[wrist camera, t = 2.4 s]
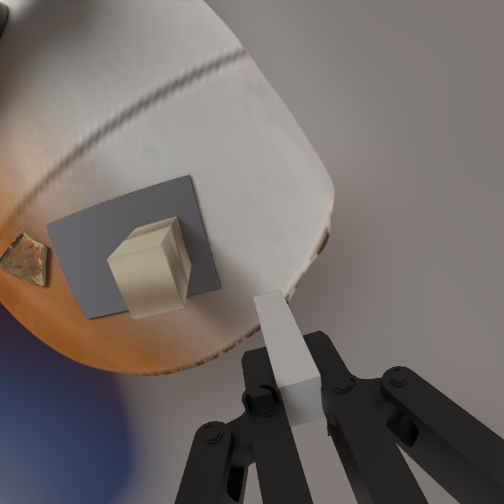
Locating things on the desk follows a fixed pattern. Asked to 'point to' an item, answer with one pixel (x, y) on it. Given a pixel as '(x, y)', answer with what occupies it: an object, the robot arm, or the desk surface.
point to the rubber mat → (116, 231)
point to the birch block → (152, 269)
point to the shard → (26, 259)
